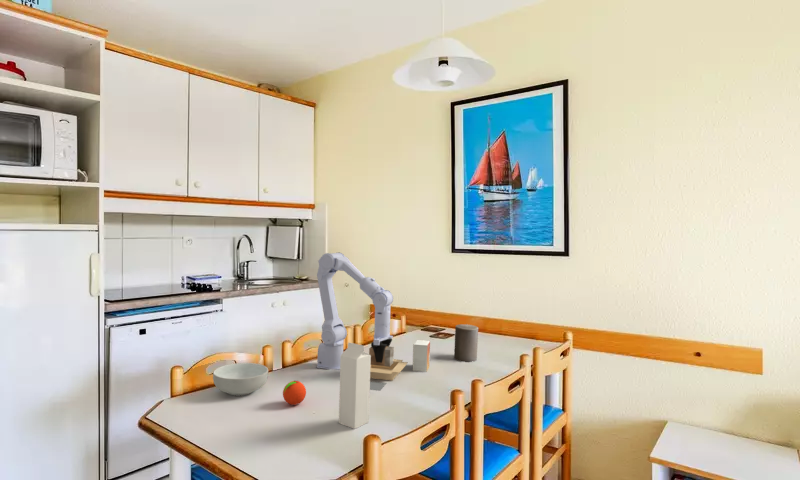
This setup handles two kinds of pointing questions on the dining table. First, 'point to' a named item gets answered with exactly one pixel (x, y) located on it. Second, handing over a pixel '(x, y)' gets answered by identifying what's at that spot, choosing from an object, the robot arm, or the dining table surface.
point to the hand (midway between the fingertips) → (381, 360)
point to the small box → (421, 355)
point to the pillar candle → (466, 343)
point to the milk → (354, 386)
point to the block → (386, 357)
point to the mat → (376, 385)
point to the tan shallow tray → (387, 370)
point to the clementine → (294, 392)
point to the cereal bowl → (240, 378)
